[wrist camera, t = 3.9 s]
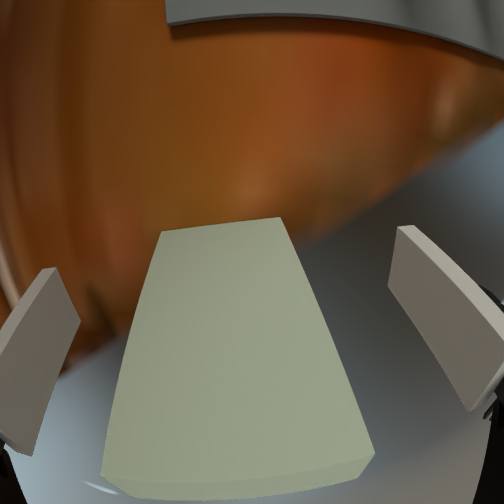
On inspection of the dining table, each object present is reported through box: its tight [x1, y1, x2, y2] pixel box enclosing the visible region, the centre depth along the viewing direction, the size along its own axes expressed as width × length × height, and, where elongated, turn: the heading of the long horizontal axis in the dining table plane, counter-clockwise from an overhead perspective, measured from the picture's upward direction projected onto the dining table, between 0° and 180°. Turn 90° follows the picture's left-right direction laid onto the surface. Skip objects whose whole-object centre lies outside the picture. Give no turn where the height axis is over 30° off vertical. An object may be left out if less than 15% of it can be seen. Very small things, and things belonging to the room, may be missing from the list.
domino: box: [100, 217, 375, 501], centre depth 9 cm, size 2×5×10 cm, turn 95°
